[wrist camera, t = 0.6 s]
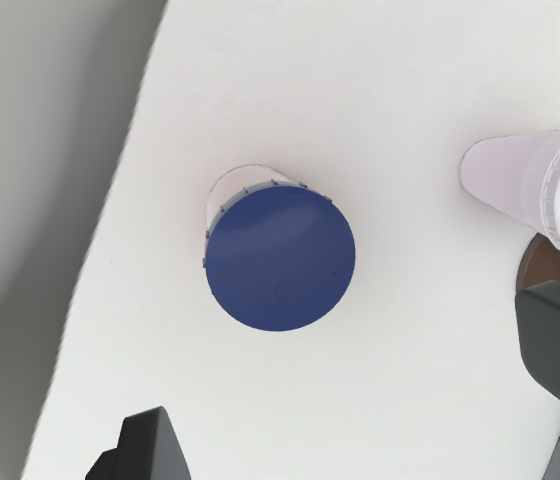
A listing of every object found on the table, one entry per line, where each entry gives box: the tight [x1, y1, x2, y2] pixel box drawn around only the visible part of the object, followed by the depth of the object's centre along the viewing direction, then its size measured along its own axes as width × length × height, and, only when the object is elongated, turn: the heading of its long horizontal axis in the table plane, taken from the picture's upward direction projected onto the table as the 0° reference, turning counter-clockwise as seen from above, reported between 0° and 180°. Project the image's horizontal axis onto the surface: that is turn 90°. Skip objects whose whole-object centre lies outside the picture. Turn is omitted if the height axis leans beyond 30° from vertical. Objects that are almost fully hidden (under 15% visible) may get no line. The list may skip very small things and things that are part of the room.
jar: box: [206, 165, 292, 230], centre depth 23 cm, size 5×5×9 cm
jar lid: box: [203, 179, 355, 331], centre depth 19 cm, size 6×6×1 cm
